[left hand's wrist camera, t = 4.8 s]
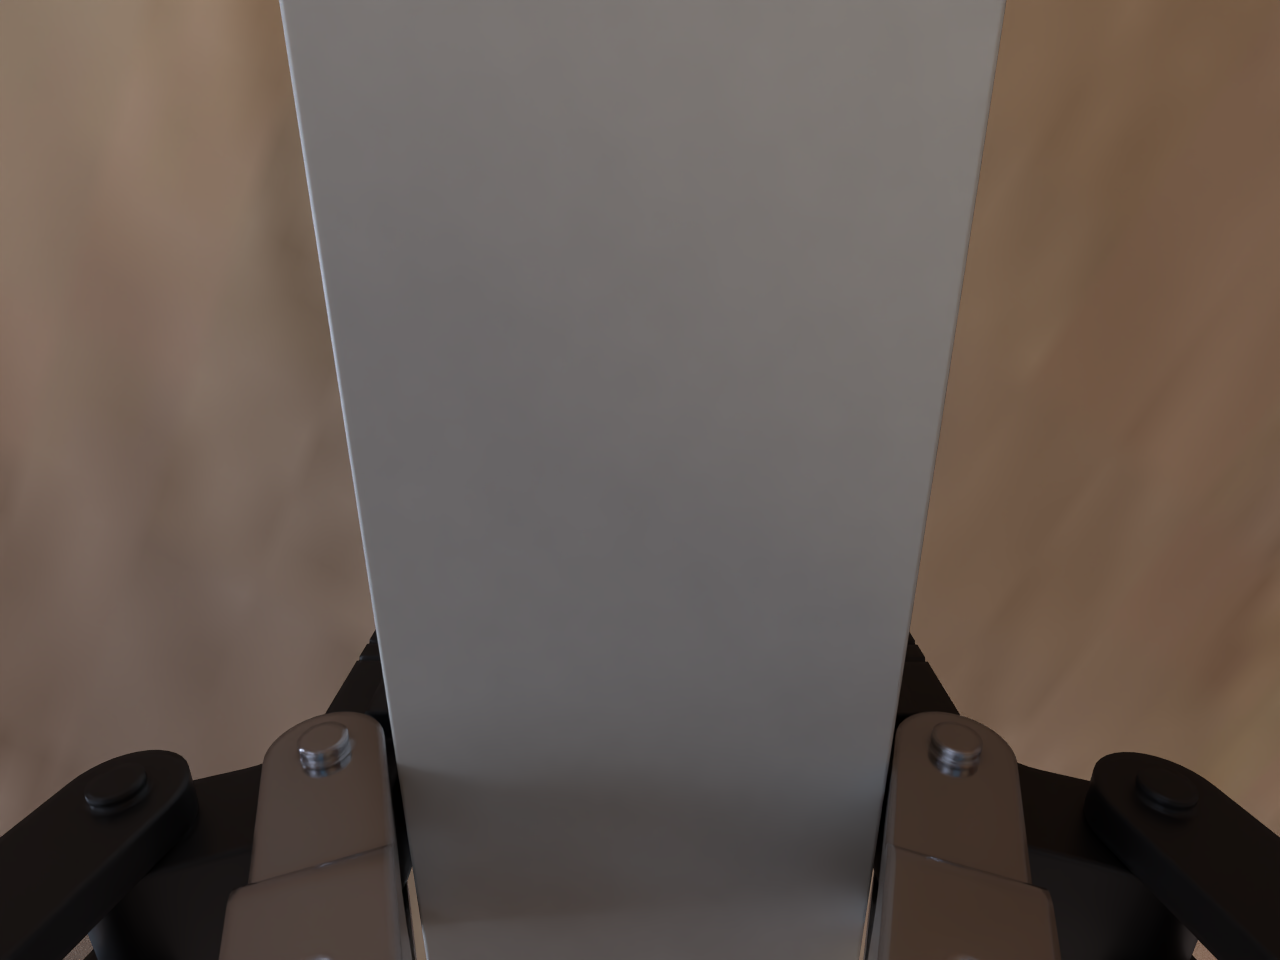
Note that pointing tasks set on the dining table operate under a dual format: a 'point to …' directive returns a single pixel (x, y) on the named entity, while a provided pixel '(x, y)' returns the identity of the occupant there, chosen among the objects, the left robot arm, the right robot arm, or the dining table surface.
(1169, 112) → the dining table surface
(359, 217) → the bar
